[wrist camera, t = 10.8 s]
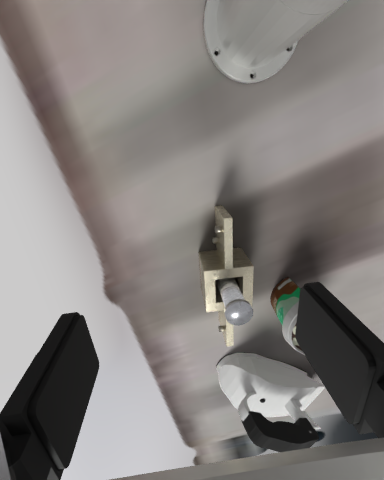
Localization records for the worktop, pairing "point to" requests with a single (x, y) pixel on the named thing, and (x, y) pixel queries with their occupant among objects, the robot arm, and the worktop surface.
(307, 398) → the iron
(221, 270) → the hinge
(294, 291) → the food container
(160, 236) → the worktop surface
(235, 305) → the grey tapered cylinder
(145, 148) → the worktop surface
